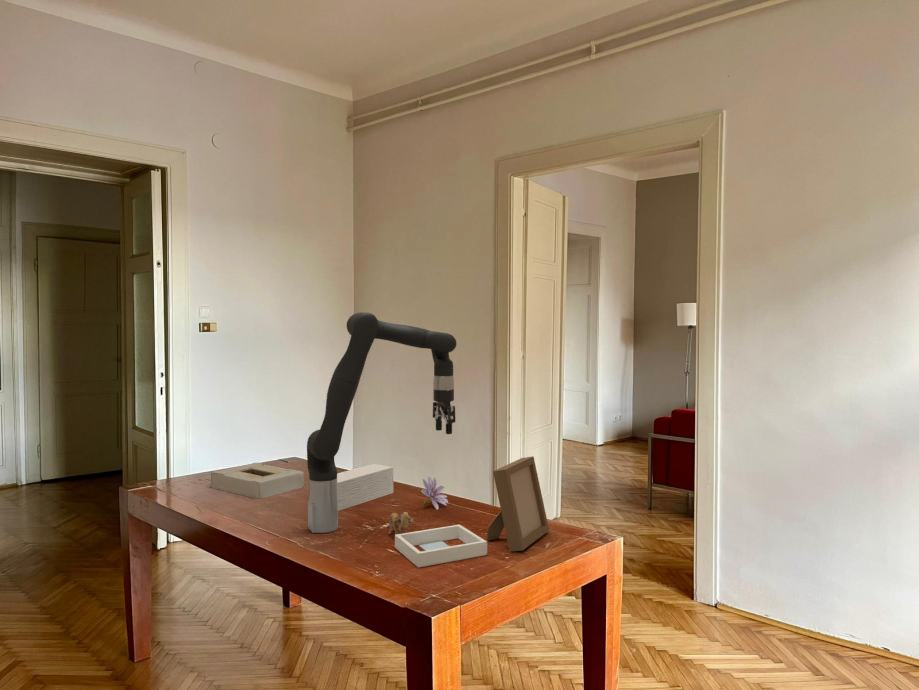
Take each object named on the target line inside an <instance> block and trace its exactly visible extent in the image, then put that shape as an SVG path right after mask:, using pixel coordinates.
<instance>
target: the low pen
mask: <svg viewBox="0 0 919 690" xmlns="http://www.w3.org/2000/svg"><path fill="white" fill-rule="evenodd" d="M455 539H459V540H460V541H461V542H462V543H463V544H457V545H451V546H450V545H448V544H447V543H446V542H444V541H451V540H455ZM415 546H419V548H420V549H422V550H423V551H421V550H419V549H418V548H417V547H415ZM394 548H395V549H396V550H397V551H398V552H400V553H401V555H403V556H404V557H406V559H407V560H409V561H410V562H411V563H413V564H414V565H415V566H416V567H417V568H422V567H423V568H425V567H429V566H434V565H439V564H444V563H445V564H446V563H450V562H457V561H460V560H467V559H470V558H472V559H473V558H477V557H483V556H487V555H488V540H485V539H484V538H482V537H481V536H479V535H477V534H475V533H474V532H472V531H471V530H469V529H468V528H466V527H465V526H463V525H461V524H455V525H448V526H441V527H435V528H428V529H424V530H416V531H412V532H411V531H410V532H404V533H403V534H402V533H398V534H397V535H395V534H394Z"/></svg>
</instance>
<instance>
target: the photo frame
mask: <svg viewBox="0 0 919 690" xmlns="http://www.w3.org/2000/svg"><path fill="white" fill-rule="evenodd" d="M535 461H536V460H535V457H534V456H527V457H520V458H519V459H517V460H514V461H513V462H509V463H508V464H506V465H504V466H501V467H499V468H498V469H494V470H492V474H493V478H494V482H495V488H496V493H497V498H498V501H499V507H500V508H499V509H500V510H499V512H498V513H497V514H496V515H495V517H494V518H493V519H492V521H491V522H490V524H489V525H488V526H487V531H486V540H485V541H491V540H498V539H500V536H501V534H502V533H503V531H504V532H505V536H506V539H507V540H506V541H507V545H508V549H509V550H508V551H509V552H518V551H519V552H520V551H524V550H525V549H526V548H528V547H529V546H530V545H532V544H533V543H534V542H535V541H537V540H538V539H540V538H541V537H543V535H545V534H546V533H548V532H549V531H550V528H549V524H548V518H547V513H546V510H545V509H546V508H545V504H544V499H543V495H542V491H541V485H540V481H539V476H538V471H537V467H536V466H537V465H536V463H535Z"/></svg>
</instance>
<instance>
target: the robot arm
mask: <svg viewBox="0 0 919 690" xmlns="http://www.w3.org/2000/svg"><path fill="white" fill-rule="evenodd" d="M346 331H347V332H348V334H349V335H350V338H349V341H348V342H349V343H348V345H347V348H346V350H345V352H344V354H343V355H342V357H341V358H340V360H339V362H338V364H337V365H336V367H335V369H334V371H333V373H332V375H331V376H332V377H331V378H330V382H329V384H328V388H327V393H326V398H325V399H326V403H325V411H324V412H325V413H324V416H323V417H324V418H323V420H322V423H321V426H320V428H319V429H316V430H314V431H313V432H311V434H310V435H309V437H308V438H307V443H306V460H307V463H306V464H307V471H308V479H309V480H308V481H309V482H308V483H309V485H308V486H309V487H308V489H309V490H308V491H309V493H308V494H309V499H308V500H307V528H308V530H309V531H310V532H311V533H312V534H315V533H317V534H318V533H319V534H320V533H321V534H322V533H323V534H324V533H325V534H326V533H332V532H335V531H337V530H338V526H339V521H338V517H339V516H338V512H339V511H338V506H337V473H338V469H337V466H336V463H335V456H337V454H338V453H339V450H340V448H341V446H340V445H341V442H342V437H343V432H344V428H345V424H346V421H347V418H348V416H349V413H350V410H351V407H352V404H353V401H354V399H355V396H356V393H357V390H358V389H359V388H358V387H359V385H360V381H361V377H362V374H363V371H364V368H365V365H366V360H367V358H368V354H369V352H370V349H371V347H372V345H373V343H374V341H375V339H376V340H381V341H383V340H384V341H389V342H393V343H397V344H401V345H405V346H408V347H413V348H418V349H429V350H430V351H431V355H432V360H433V393H432V394H433V397H432V398H433V399H432V400H433V402H432V419H433V418H434V421H435V431H437V432H438V431H442V430H443V420H442V419H444V421H445V434H446V435H452V433H453V424H454V423H456V406H455V405H452V404H451V402H453V401H454V400H455V380H454V363H453V360H451V359H450V353H451V352H453V351H455V349H456V347H457V339H456V337H454V335H452V333H451V334H450V333H448V332H447V333H446V332H441V331H436V330H435V331H433V330H429V329H426V328H421V327H417V326H412V325H407V324H398V323H390V322H386V321H382V320H379V319H378V318H377V317H376V315H374V314H373V313H371V312H365V311H364V312H361V311H360V312H355V313H354V314H352V315H351V316H349V317H348V319H347V321H346Z"/></svg>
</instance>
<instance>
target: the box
mask: <svg viewBox="0 0 919 690" xmlns="http://www.w3.org/2000/svg"><path fill="white" fill-rule="evenodd" d="M304 485H305V472H303V471H302V470H298V469H297V470H296V469H288V468H283V467H278V466H273V465H268V464H265V463H261V462H252V463H249V464H243V465H241V466H235V467H231V468H227V469H223V470H216V471H215V470H214V471H212V472H211V473H210V487H211V488H212V489H216V490H221V491H225V492H228V493H233V494H236V495H237V494H238V495H241V496H245V497H249V498H253V499H258V500H260V499H264V498H268V497H272V496H274V495H279V494H283V493H287V492H290V491H293V490H294V491H295V490H298V489H300V488H304Z"/></svg>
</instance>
